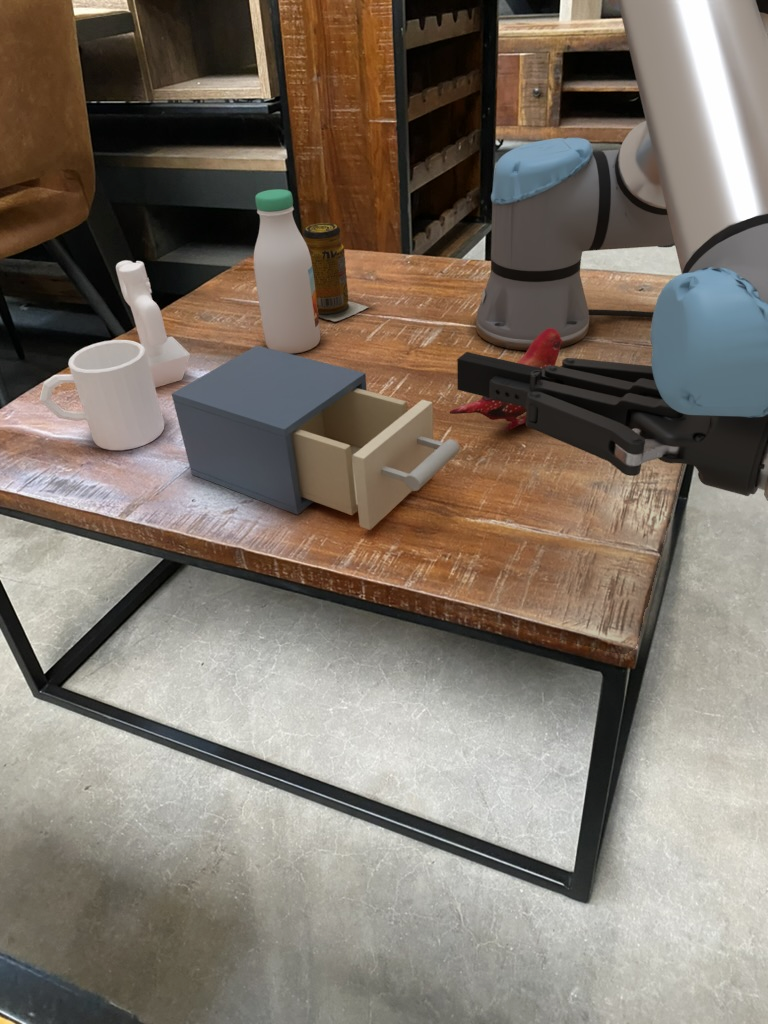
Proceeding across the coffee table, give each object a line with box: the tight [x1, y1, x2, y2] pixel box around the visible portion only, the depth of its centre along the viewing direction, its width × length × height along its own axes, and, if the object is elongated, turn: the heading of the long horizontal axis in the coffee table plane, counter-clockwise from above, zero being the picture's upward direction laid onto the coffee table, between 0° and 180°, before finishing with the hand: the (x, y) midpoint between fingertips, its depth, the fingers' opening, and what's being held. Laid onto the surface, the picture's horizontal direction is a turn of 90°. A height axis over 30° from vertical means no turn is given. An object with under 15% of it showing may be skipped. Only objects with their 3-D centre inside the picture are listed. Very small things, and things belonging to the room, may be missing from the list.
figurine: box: [115, 259, 191, 389], centre depth 96 cm, size 7×9×15 cm
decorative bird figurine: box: [449, 328, 563, 433], centre depth 81 cm, size 3×18×10 cm, turn 132°
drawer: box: [291, 388, 461, 531], centre depth 74 cm, size 18×11×8 cm, turn 56°
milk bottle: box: [253, 188, 321, 355], centre depth 101 cm, size 8×8×20 cm
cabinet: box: [171, 345, 368, 516], centre depth 79 cm, size 15×13×10 cm
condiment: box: [302, 222, 369, 322], centre depth 113 cm, size 7×8×12 cm
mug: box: [39, 339, 165, 451], centre depth 86 cm, size 8×12×10 cm
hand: (462, 370), depth 62 cm, fingers closed
